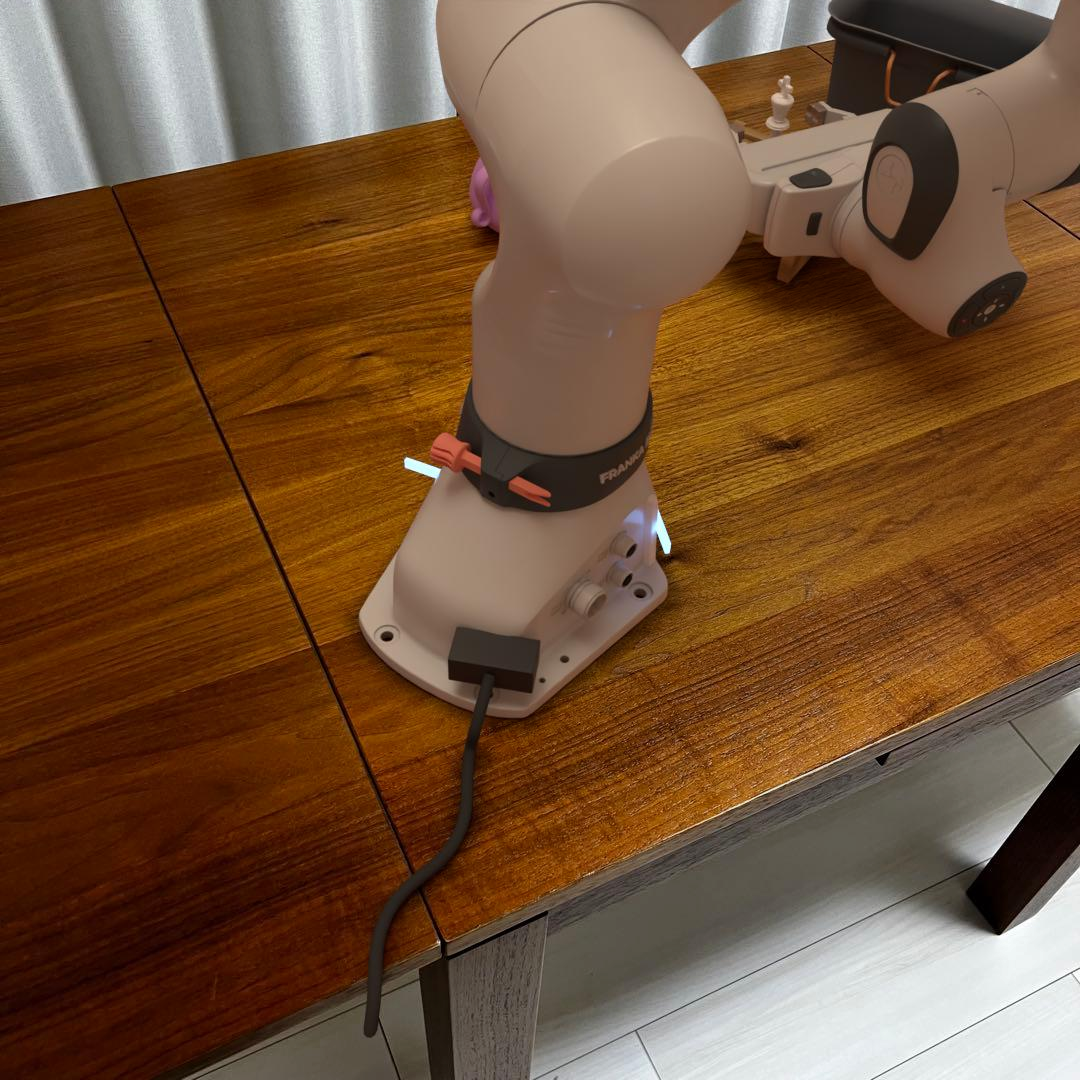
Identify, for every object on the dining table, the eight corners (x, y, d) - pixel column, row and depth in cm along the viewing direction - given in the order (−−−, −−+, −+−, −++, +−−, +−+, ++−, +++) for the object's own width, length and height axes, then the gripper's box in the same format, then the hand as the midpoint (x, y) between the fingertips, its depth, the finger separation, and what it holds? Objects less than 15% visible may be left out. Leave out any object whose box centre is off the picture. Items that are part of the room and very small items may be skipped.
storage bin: (1031, 159, 122) (1084, 22, 111) (983, 231, 113) (1036, 90, 103) (838, 97, 129) (870, -38, 118) (779, 161, 120) (808, 22, 110)
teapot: (437, 224, 111) (433, 132, 104) (553, 167, 118) (557, 77, 111) (512, 276, 106) (514, 183, 99) (628, 213, 113) (638, 123, 106)
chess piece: (758, 198, 109) (778, 95, 101) (730, 170, 111) (748, 68, 104) (803, 187, 110) (826, 85, 103) (774, 160, 113) (795, 58, 105)
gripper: (971, 139, 100) (870, 64, 108) (770, 194, 94) (678, 110, 102) (949, 204, 105) (854, 128, 113) (756, 261, 98) (669, 176, 106)
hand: (769, 120), depth 107 cm, fingers open, 8 cm apart
